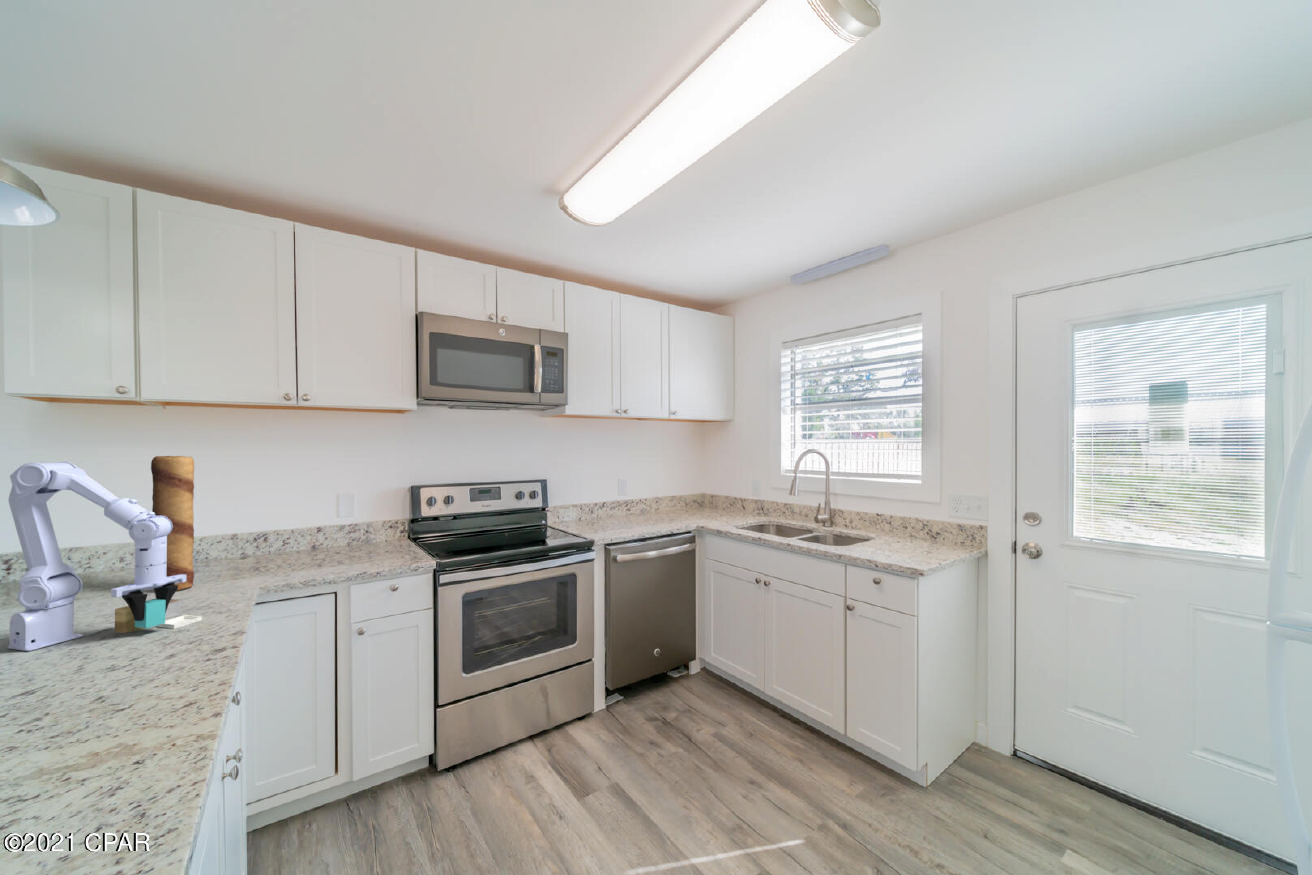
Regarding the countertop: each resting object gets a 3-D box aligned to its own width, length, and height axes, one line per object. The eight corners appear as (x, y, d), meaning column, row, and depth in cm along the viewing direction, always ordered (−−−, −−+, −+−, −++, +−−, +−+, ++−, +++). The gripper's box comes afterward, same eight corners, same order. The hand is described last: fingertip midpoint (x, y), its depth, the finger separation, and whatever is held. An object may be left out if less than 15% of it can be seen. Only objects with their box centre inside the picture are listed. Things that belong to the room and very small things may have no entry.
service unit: (163, 623, 133) (163, 604, 133) (150, 621, 134) (150, 603, 134) (183, 617, 137) (183, 599, 138) (170, 616, 139) (170, 598, 139)
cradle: (174, 628, 129) (174, 624, 129) (156, 626, 131) (156, 622, 131) (201, 620, 135) (201, 616, 135) (184, 618, 137) (184, 614, 137)
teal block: (145, 628, 124) (146, 604, 124) (134, 627, 125) (135, 603, 125) (165, 622, 128) (165, 599, 128) (154, 621, 129) (154, 598, 129)
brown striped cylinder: (150, 589, 166) (151, 456, 167) (193, 583, 174) (194, 455, 174) (149, 595, 159) (150, 456, 160) (194, 588, 166) (195, 455, 167)
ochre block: (125, 633, 126) (125, 610, 126) (114, 632, 127) (114, 609, 127) (145, 628, 130) (145, 605, 130) (134, 626, 131) (134, 604, 131)
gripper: (125, 572, 119) (124, 628, 119) (194, 558, 133) (194, 609, 133) (105, 570, 121) (104, 626, 120) (176, 557, 135) (175, 607, 134)
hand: (150, 617), depth 127 cm, fingers closed on teal block, 4 cm apart
